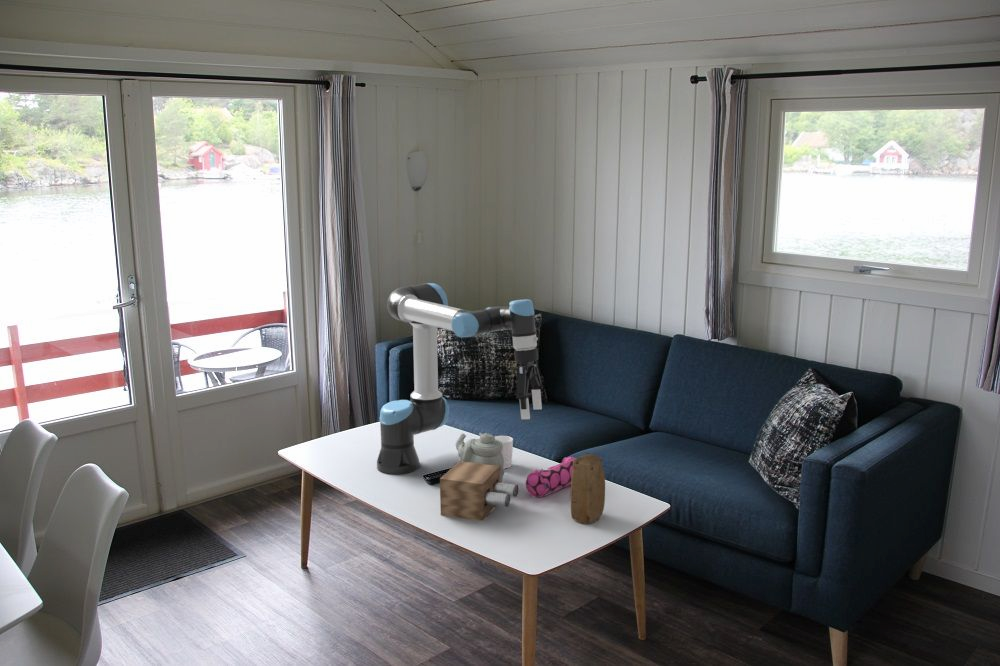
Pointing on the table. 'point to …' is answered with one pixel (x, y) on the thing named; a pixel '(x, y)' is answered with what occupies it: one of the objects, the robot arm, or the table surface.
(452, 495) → the walnut block
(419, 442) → the table surface
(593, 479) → the block
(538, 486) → the pencil case
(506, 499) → the near peg
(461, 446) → the teapot
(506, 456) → the white cup
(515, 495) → the far peg
